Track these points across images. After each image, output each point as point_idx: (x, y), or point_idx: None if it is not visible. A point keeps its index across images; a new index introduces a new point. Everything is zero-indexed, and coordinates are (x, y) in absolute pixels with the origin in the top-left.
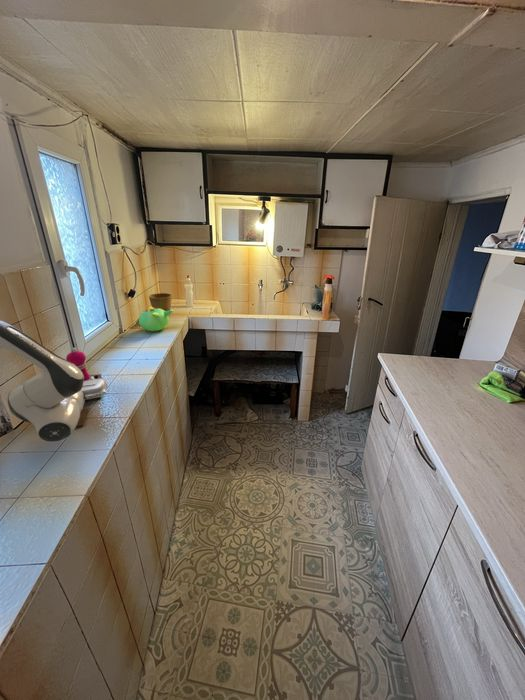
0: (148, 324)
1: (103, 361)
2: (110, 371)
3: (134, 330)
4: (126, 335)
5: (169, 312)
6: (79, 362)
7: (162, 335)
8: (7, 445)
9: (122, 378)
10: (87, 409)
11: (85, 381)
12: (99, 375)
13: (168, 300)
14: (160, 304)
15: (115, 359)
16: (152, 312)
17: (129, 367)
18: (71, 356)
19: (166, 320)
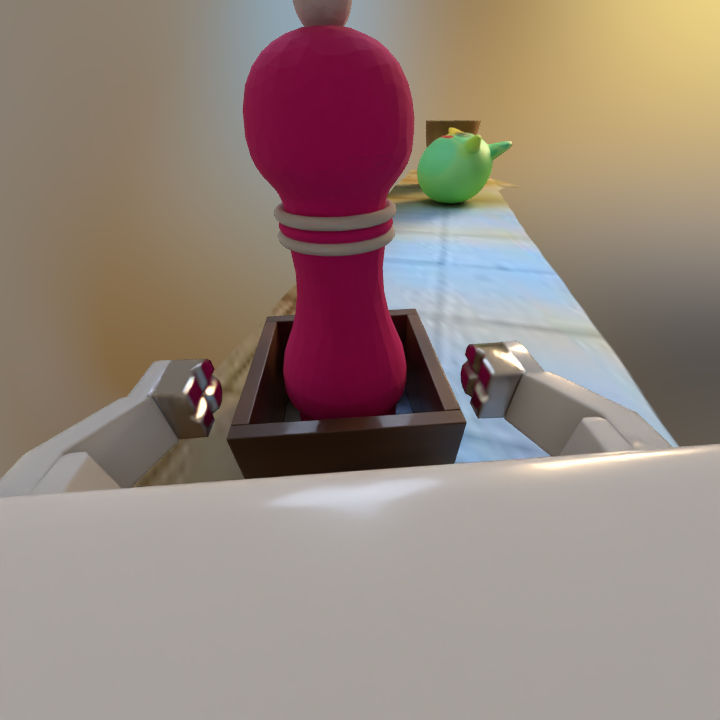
0: (450, 175)
1: None
2: (398, 298)
3: (396, 201)
4: None
5: (503, 147)
6: (374, 164)
7: (479, 212)
8: None
9: (472, 338)
10: None
11: (614, 498)
12: (415, 317)
13: (474, 132)
14: None
15: (391, 259)
16: (465, 139)
17: (462, 291)
18: (301, 50)
19: (490, 172)
